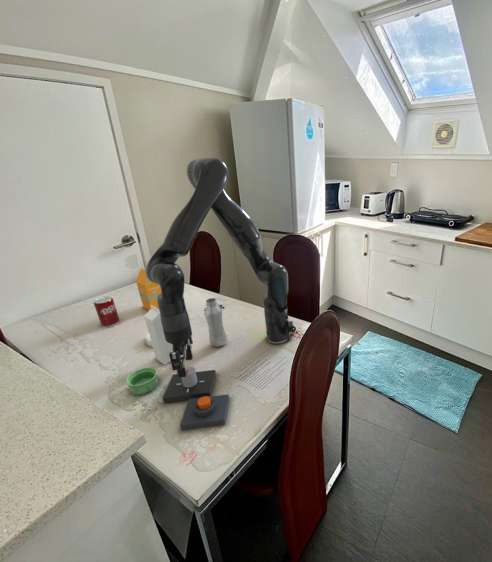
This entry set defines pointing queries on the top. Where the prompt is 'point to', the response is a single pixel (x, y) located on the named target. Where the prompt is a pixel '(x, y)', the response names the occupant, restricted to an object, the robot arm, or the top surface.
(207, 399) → the power button
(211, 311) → the plastic bottle
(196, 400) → the button block
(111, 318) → the soda can
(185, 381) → the brew dial
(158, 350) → the milk
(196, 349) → the top surface
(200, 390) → the brew base
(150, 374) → the ramekin
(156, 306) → the orange juice
